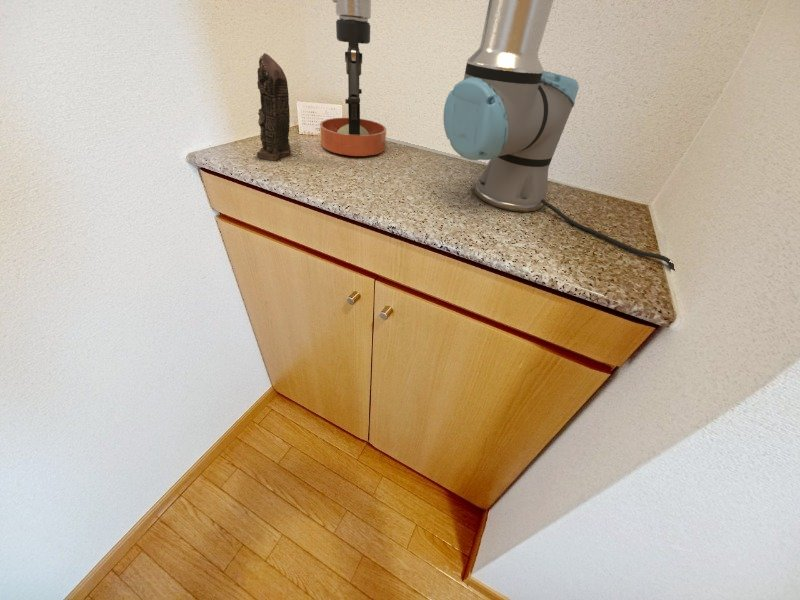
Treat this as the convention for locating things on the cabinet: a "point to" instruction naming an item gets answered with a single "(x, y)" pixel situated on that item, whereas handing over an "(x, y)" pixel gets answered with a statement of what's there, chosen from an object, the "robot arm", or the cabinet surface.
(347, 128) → the sea urchin shell
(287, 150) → the statue
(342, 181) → the cabinet surface
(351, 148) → the bowl
